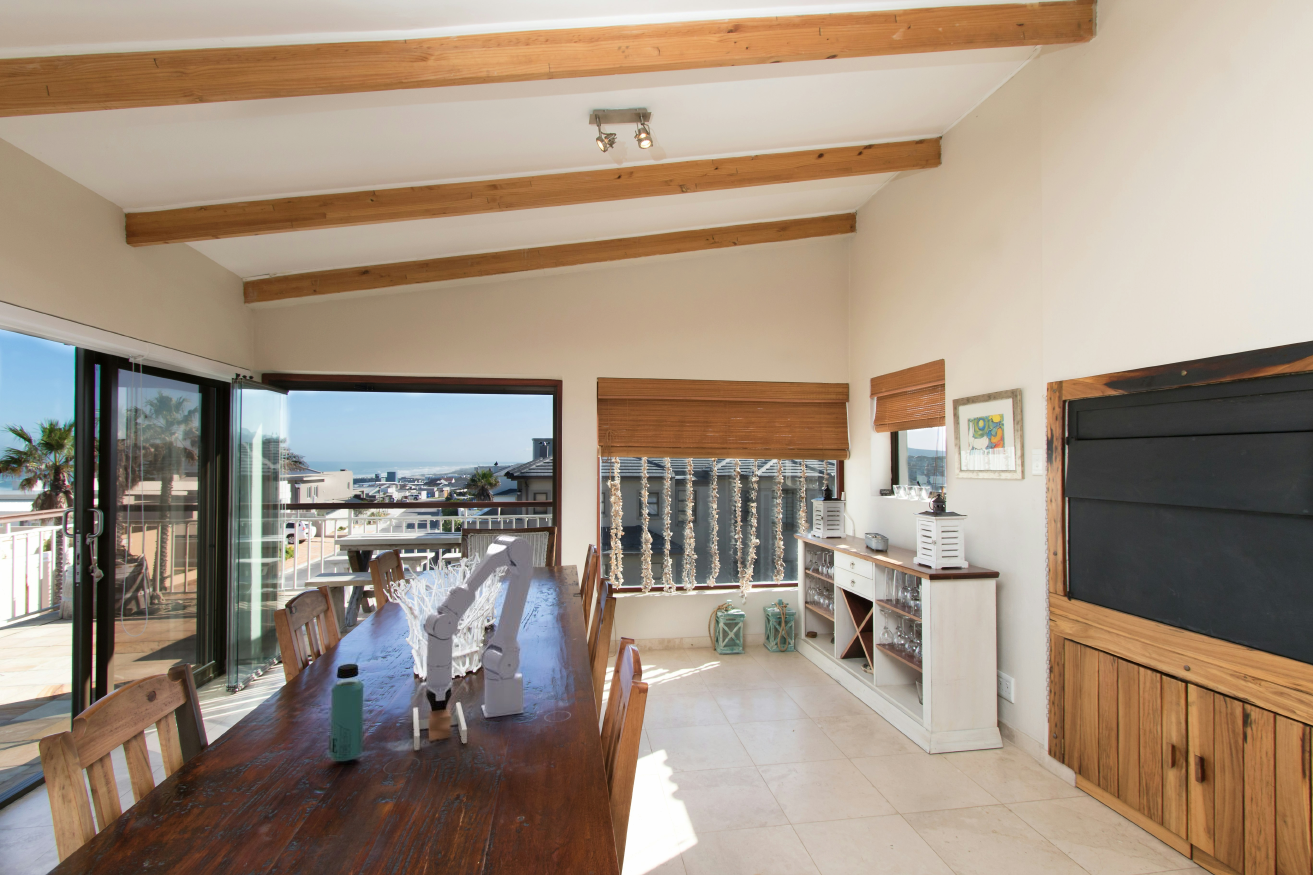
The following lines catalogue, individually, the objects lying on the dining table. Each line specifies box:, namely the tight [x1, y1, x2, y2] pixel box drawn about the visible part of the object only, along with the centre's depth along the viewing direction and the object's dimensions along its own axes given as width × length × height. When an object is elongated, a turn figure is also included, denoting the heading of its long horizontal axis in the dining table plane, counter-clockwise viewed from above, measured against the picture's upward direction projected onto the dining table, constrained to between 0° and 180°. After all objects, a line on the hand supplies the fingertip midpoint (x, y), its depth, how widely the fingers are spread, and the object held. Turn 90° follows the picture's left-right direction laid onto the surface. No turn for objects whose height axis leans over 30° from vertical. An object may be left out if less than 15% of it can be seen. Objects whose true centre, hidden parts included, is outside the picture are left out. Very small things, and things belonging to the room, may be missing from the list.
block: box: [428, 708, 452, 741], centre depth 150 cm, size 4×4×5 cm
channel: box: [412, 701, 468, 751], centre depth 153 cm, size 11×18×3 cm, turn 21°
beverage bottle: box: [328, 663, 365, 762], centre depth 137 cm, size 6×7×20 cm
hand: (438, 721), depth 155 cm, fingers closed
